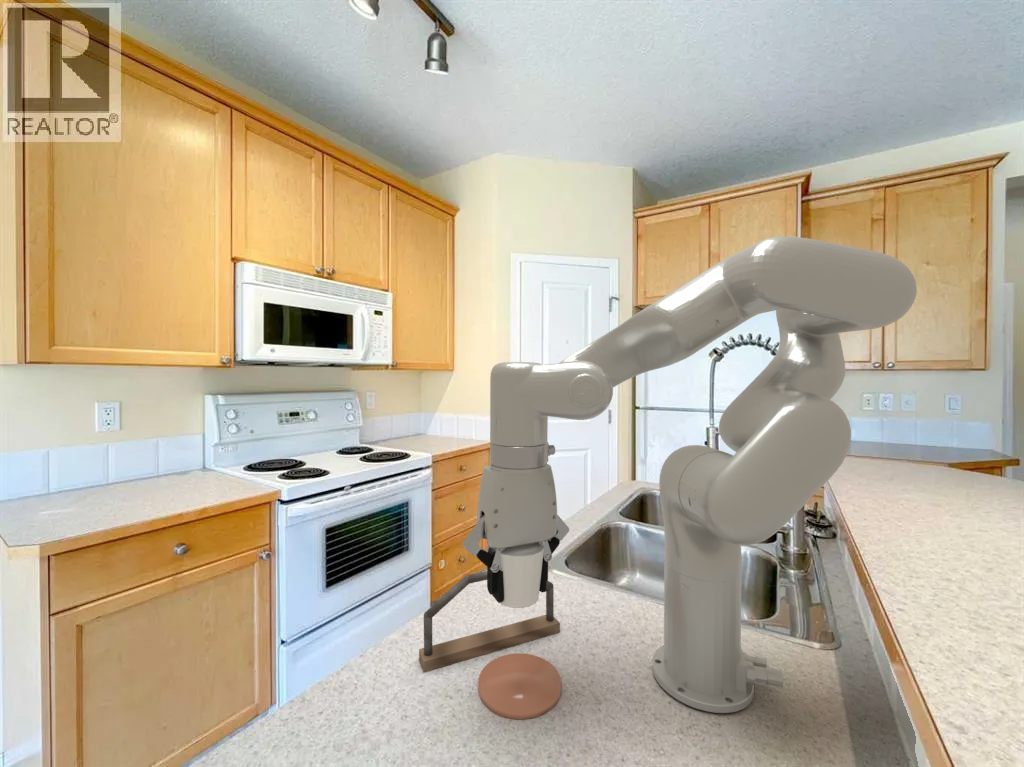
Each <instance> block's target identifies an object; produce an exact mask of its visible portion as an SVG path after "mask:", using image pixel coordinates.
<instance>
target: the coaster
mask: <svg viewBox="0 0 1024 767" xmlns="http://www.w3.org/2000/svg"><path fill="white" fill-rule="evenodd" d="M477 685H478V686H477V687H478V695H479V696H478V697H479V698H480V700H481V702H482V703H483V705H484V706H485V707H486V708H487V709H489V710H490V711H491V712H492V713H494V714H496V715H498V716H499V717H502V718H506V719H511V720H528V719H533V718H534V719H535V718H537V717H540V716H543V715H545V714H547V713H548V712H550V711H551V710H552V709H553V708H554V707H555V706H556V705H557V704H558V702H559V701H560V697H561V695H562V678H561V675H560V673H559V671H558V669H557V668H556V667H555V666H554V665H553V664H552V663H550V662H549V661H548V660H546V659H544V658H542V657H540V656H537V655H533V654H530V653H522V652H521V653H520V652H519V653H508V654H505V655H501V656H499V657H496V658H494V659H493V660H491V661H489V662H488V663H487V664H486V665H485V666H484V667H483V668H482V670H481V671H480V674H479V677H478V683H477Z"/></svg>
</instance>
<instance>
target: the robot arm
mask: <svg viewBox="0 0 1024 767" xmlns="http://www.w3.org/2000/svg"><path fill="white" fill-rule="evenodd" d="M917 292H918V287H917V281H916V279H915V275H914V274H913V272H912V271H911V269H910V268H909V267H908V266H907V265H906V264H905V263H904V262H902V261H901V260H900V259H897V258H896V257H895V256H891V255H889V254H886V253H882V252H879V251H874V250H869V249H864V248H859V247H854V246H849V245H844V244H839V243H834V242H828V241H825V240H824V241H823V240H819V239H813V238H808V237H807V238H805V237H802V236H790V235H789V236H788V235H787V236H786V235H785V236H784V235H783V236H780V235H779V236H773V237H768V238H765V239H762V240H759V242H757V243H755V244H752V245H750V246H748V247H746V248H744V249H742V250H740V251H738V252H735V253H733V254H731V255H729V256H728V257H725V258H723V259H722V260H720V261H719V262H717V263H716V264H714V265H712V266H710V267H709V268H707V269H706V270H704V271H703V272H701V273H699V274H698V275H696V276H695V277H693V278H692V279H690V280H688V281H687V282H685V283H683V284H682V285H680V286H678V287H677V288H675V289H673V291H671V292H669V293H667V294H666V295H664V296H663V297H661V298H659V299H658V300H656V301H654V302H652V303H651V304H649V305H647V307H645V308H643V309H642V310H640V311H639V312H637V313H635V314H634V315H632V316H631V317H629V318H628V319H627V320H625V321H624V322H623V323H621V324H620V325H618V326H616V327H615V328H614V329H612V330H610V331H609V332H607V333H605V334H604V335H602V336H600V337H599V338H597V339H595V340H594V341H592V342H590V343H588V344H587V345H585V346H584V347H583V348H581V349H579V350H578V351H576V352H574V353H573V354H572V355H570V356H567V357H566V358H565V359H563V360H561V361H560V362H558V363H547V364H545V363H544V364H541V363H538V362H533V361H507V362H506V361H505V362H498V363H496V364H494V365H493V367H492V368H491V370H490V379H489V380H490V381H489V387H490V388H489V394H490V396H489V402H490V403H489V404H490V405H489V407H490V409H489V414H490V416H489V422H490V423H489V431H490V432H489V465H485V466H484V467H483V469H482V474H481V479H480V485H479V486H480V487H479V490H478V491H479V492H478V502H477V513H476V524H475V525H474V526H473V528H472V529H471V531H470V532H469V533H468V534H467V536H466V537H465V538H464V540H463V541H462V546H463V547H464V549H465V550H466V551H467V553H469V554H471V555H472V556H474V557H475V558H476V559H478V560H479V562H481V563H482V564H484V565H485V566H486V571H487V580H486V588H487V592H488V593H489V594H490V595H491V596H492V597H493V598H494V600H495V601H496V602H497V603H498V604H500V602H503V601H504V583H503V571H501V570H499V569H500V566H501V553H502V552H505V550H506V548H510V547H516V546H522V545H527V544H532V543H537V544H539V545H540V546H544V552H543V561H542V570H541V579H540V589H539V593H540V592H541V593H546V582H547V581H549V562H550V561H551V560H552V559H553V553H554V552H555V550H557V548H558V547H559V545H560V543H561V541H563V540H564V538H565V537H566V536H567V534H568V533H569V532H570V527H569V526H568V525H567V523H566V522H564V520H563V519H562V518H561V517H560V516H559V514H558V505H557V504H558V502H557V493H556V484H555V478H554V475H553V474H554V473H553V470H552V466H551V464H549V463H548V462H549V457H550V456H553V455H555V454H556V447H555V445H554V444H549V442H548V432H549V431H548V424H549V423H548V422H549V421H548V420H549V419H548V417H551V418H552V417H554V418H560V419H566V420H568V419H569V420H574V421H575V420H577V421H586V420H591V419H594V418H596V417H598V416H600V415H601V414H602V413H604V412H605V411H606V410H607V409H608V407H610V404H611V402H612V400H613V395H614V388H615V387H617V386H618V385H621V384H622V383H624V382H626V381H629V380H630V379H632V378H634V377H637V376H639V375H641V374H644V373H647V372H651V371H654V370H658V369H662V368H666V367H669V366H671V365H674V364H677V363H679V362H681V361H684V360H686V359H687V358H690V357H691V356H693V355H695V354H696V353H698V352H699V351H701V350H702V349H703V348H705V347H707V346H709V344H711V343H712V342H714V341H716V340H717V339H719V338H721V337H722V336H724V335H725V334H727V333H728V332H730V331H732V330H734V329H735V328H737V327H739V326H741V325H742V324H743V323H745V322H746V321H748V320H750V319H751V318H754V317H755V316H757V315H760V314H763V313H764V314H765V313H768V312H773V311H775V315H776V323H777V326H778V332H779V346H778V349H777V352H776V354H775V355H774V357H772V359H771V361H770V362H769V363H768V364H767V366H766V367H765V368H764V369H763V370H762V371H761V372H760V373H759V374H758V375H757V376H756V377H755V378H754V379H753V380H752V381H751V382H750V383H748V385H747V387H746V388H745V389H744V390H743V391H741V392H740V393H739V395H737V396H736V397H735V399H733V400H732V401H731V402H730V403H729V405H728V406H727V407H726V408H725V410H724V411H723V413H722V415H721V416H720V419H719V422H718V431H719V434H720V438H721V440H722V441H723V443H725V445H726V446H727V447H728V448H729V449H731V450H732V451H734V452H735V453H734V454H731V453H728V452H726V451H722V450H720V449H716V448H714V447H710V446H706V445H699V444H694V445H693V444H692V445H685V446H682V447H679V448H677V449H676V450H674V451H673V452H671V453H670V454H669V455H668V456H667V458H666V459H665V460H664V462H663V464H662V467H661V469H660V474H659V479H658V480H659V484H658V485H659V496H660V503H661V504H660V505H661V510H662V518H663V529H664V530H663V531H664V532H663V533H664V564H663V566H664V567H663V568H664V571H663V572H664V575H663V578H664V579H663V582H664V584H663V589H664V590H663V645H662V646H660V647H659V648H658V649H656V650H655V652H654V653H653V655H652V660H651V669H652V674H653V676H654V678H655V680H656V682H657V683H658V684H659V686H660V687H661V688H662V689H663V690H664V691H665V692H666V693H667V694H668V695H670V696H671V697H673V698H674V699H675V700H677V701H679V702H680V703H683V704H684V705H687V706H689V707H691V708H694V709H696V710H701V711H703V712H704V711H705V712H708V713H714V714H715V713H716V714H729V713H730V714H731V713H735V712H738V711H741V710H743V709H746V708H747V707H748V706H750V704H751V703H752V701H753V699H754V695H755V692H754V691H755V687H754V685H756V683H761V684H765V685H767V686H770V687H771V686H772V687H778V688H784V677H783V676H784V675H783V672H782V670H781V669H778V668H773V667H768V663H767V662H768V661H767V659H766V657H761V656H752V655H747V652H743V648H742V646H741V644H742V643H741V640H742V639H741V638H742V637H741V636H742V633H741V632H742V572H743V564H742V563H743V562H742V561H743V560H742V559H743V558H742V556H743V555H742V547H741V546H753V545H756V544H758V543H762V542H764V541H766V540H768V539H769V538H771V537H773V535H775V534H776V533H777V532H779V531H780V530H781V529H782V528H783V527H784V526H785V525H786V524H787V523H788V522H790V520H791V519H792V518H793V517H794V516H795V515H796V514H797V513H798V512H799V511H800V510H801V509H802V508H803V507H804V506H806V504H807V503H808V502H809V501H810V499H812V497H814V495H815V494H816V493H817V492H818V491H819V490H820V489H821V488H822V487H823V486H824V485H825V484H826V483H827V482H828V481H829V480H830V479H831V477H832V476H833V475H835V473H837V471H838V470H839V468H840V467H842V466H841V465H842V464H843V463H844V461H845V459H846V458H847V455H848V452H849V449H850V446H851V439H852V429H851V424H850V421H849V419H848V418H849V417H847V415H846V413H845V412H844V410H843V409H842V408H841V407H840V406H839V405H838V404H837V403H836V402H835V401H832V398H833V397H834V396H835V395H836V394H837V393H838V391H839V390H840V388H841V387H842V385H843V383H844V380H845V376H846V362H845V361H846V360H845V358H844V356H845V355H844V352H843V347H842V346H843V345H842V341H841V337H840V333H849V332H857V331H858V332H859V331H868V330H869V331H870V330H874V329H880V328H882V327H886V326H889V325H891V324H893V323H896V322H897V321H899V320H901V318H903V317H904V316H905V315H906V314H907V313H908V312H909V311H910V309H912V306H913V305H914V303H915V300H916V297H917ZM482 539H483V540H486V541H487V547H486V550H485V549H484V548H483V547H481V546H480V545H479V543H480V542H481V540H482ZM492 549H495V551H494V554H493V550H492Z"/></svg>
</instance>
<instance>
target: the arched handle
mask: <svg viewBox="0 0 1024 767" xmlns="http://www.w3.org/2000/svg"><path fill="white" fill-rule="evenodd" d="M483 581H487V570H485V571H480V572H475V573H471V574H470V573H469V574H467V575H464V577H463V578H462V579H460V580H459V581H458V582H457V583H456V584H455V585H453V586H452V587H451V588H450V589H449V590H448V591H447V592H446V593H445V594H444V595H442V597H440V598H438V600H437V601H436V602H435V603H434V604H433V605H431V606H430V607H429V608H428V609H427V610H426V611H424V614H423V647H421V648H419V649H418V660H419V664H420V666H421V668H422V671H423V673H426V672H429V671H433V670H436V669H440V668H442V667H447V666H450V665H452V664H457V663H459V662H463V661H466V660H470V659H473V658H474V659H475V658H478V657H480V656H483V655H486V654H490V653H494V652H497V651H501V650H504V649H507V648H510V647H514V646H517V645H521V644H524V643H528V642H531V641H534V640H538V639H541V638H545V637H548V636H551V635H555V634H558V633H561V623H560V621H559V620H558V619H557V618H555V615H554V610H555V609H554V608H555V607H554V600H555V599H554V597H555V596H554V583H553V582H551V581H549V580H548V581H547V582H546V592H545V614H543V615H540V616H536V617H533V618H529V619H525V620H522V621H518V622H513V623H510V624H506V625H503V626H499V627H496V628H495V627H494V628H493V629H488V630H484V631H480V632H478V633H473V634H470V635H467V636H463V637H459V638H455V639H452V640H448V641H444V642H440V643H436V644H433V617H435V616H436V615H437V614H438V613H439V612H441V610H442V609H443V608H444V607H445V606H446V605H448V604H449V603H450V602H451V601H452V600H453V599H454V598H455V597H456V596H457V595H458V594H460V593H461V592H462V591H463V590H464V589H465V588H466V587H467V586H468V585H470V584H474V583H478V582H483Z"/></svg>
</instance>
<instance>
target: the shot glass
mask: <svg viewBox="0 0 1024 767" xmlns="http://www.w3.org/2000/svg"><path fill="white" fill-rule="evenodd" d="M492 550H493V554H494V551H495V549H492ZM543 552H544V546H540V545H539V544H537V543H532V544H527V545H522V546H516V547H510V548H506V550H505V552H502V553H501V566H500V569H499V570H501V571H503V583H504V601H503V602H500V603H499V604H500V605H502V606H503V607H506V608H507V607H508V608H512V609H525V608H529V607H530V608H531V607H532V606H533V605H535V604H536V603H537V602H538V600H539V597H540V591H539V589H540V579H541V570H542V561H543Z"/></svg>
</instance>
